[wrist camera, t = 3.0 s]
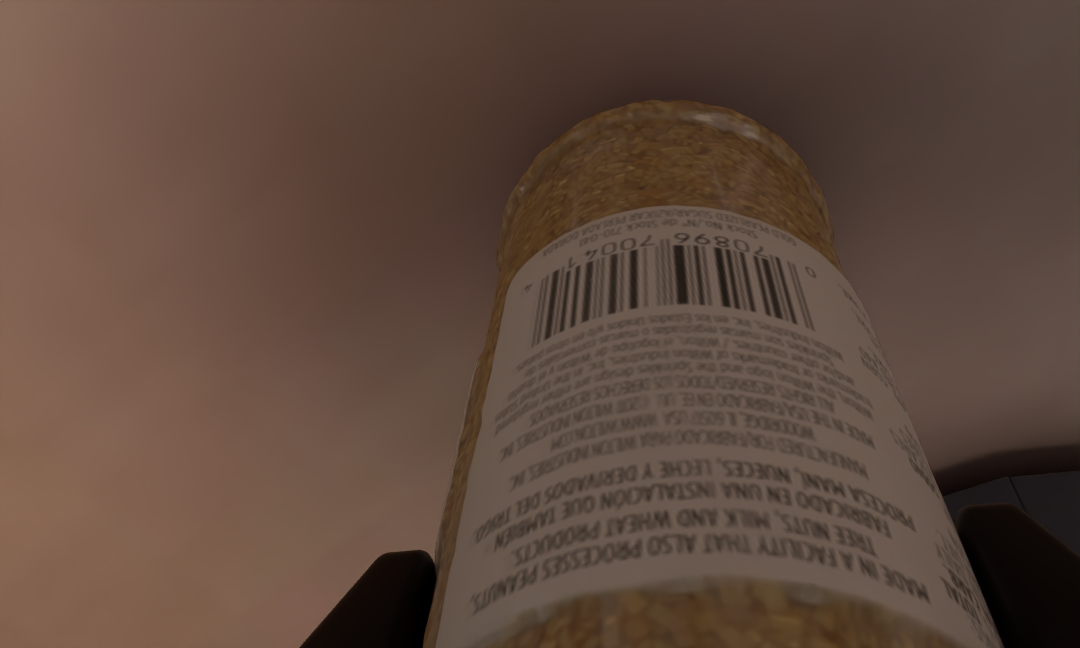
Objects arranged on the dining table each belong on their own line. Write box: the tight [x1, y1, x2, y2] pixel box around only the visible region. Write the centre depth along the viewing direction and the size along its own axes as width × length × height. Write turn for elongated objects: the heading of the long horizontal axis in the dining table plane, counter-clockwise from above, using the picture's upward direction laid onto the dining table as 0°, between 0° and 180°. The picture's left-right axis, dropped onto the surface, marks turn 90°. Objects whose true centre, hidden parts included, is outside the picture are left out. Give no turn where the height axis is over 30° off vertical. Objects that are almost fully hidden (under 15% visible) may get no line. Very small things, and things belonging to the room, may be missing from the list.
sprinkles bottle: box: [423, 100, 1005, 648], centre depth 8 cm, size 5×5×14 cm
